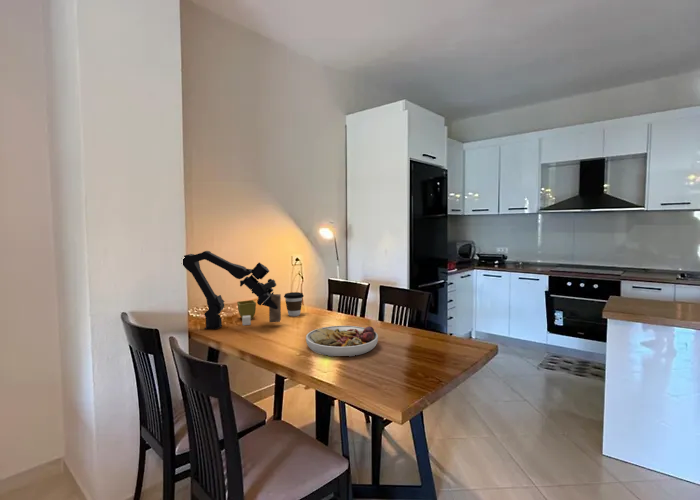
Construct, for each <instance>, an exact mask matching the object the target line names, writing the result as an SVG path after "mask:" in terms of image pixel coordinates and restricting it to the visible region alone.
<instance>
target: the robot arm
mask: <svg viewBox="0 0 700 500" xmlns="http://www.w3.org/2000/svg"><path fill="white" fill-rule="evenodd" d="M183 256H184V257H185V258H184V259H183V265H182V266H183V267H184V269H186V271H188V272H189V273H190V274H191V275H192V277H193V279H194V280H195V282H196V284H197V285H198V287H199V288H200V290H201V292H202V294H203V295H204V297H205V298H206V305H207V308H208V309H207V310H206V311H205V312H204V313H203V314H204V317H205V327H204V330H218V329H220V328H221V327H222V326H223V323H222V317H221V312H222V311H223V309H224V308H225V300H224V299H223V297H222V295H221V294H219V295H217V294H216V293H215V292H214V289H213V288H212V287H211V285H210V283H209V281H208V280H207V277H206V276H205V275H204V273H203V271H202V269H201V266H200V265H201V264H200V262H201V261H203V260H206V261H207V262H209V263H212V264H213V265H215V266H217V267H219V268H222V269H223V270H225V271H227V272H228V273H229V274H230V276H232V277H234V278H235V279H236V280H239V286H240V288H241V287H243V285H244V286H246V287H247V288H248V289H249V290H250V291H251V294H254V295H255V296H257V300H256V304H257V305H259V306H265V307H268V308H269V307H271V308H273V309H278V307H277V306H276V305H275V303H274V302H273V301H272V299H271V296H270V294H274V288H276V286H277V283H276V280H275V279H274V278H273V279H272V278H269V279H267V282H265V283H264V282H260V281H259V280H263V279H264V278H265V277H266V276H267V275H268V273H270V270H269V268H268V267H267V266H266V265H264V264H262V263H261V262H257V264H256V265H255V266H254V267H253V268H247V267H246V266H243V265H241V264H237V263H232V262H230V261H228V260H227V259H224V258H222V257H220V256H218V255H217V254H215V253H212V251H210V250H204V251H202V252H199V253H195V254H193V253H190V254H185V255H183ZM249 275H250V276H249ZM241 279H243V280H241Z"/></svg>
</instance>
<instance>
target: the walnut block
mask: <svg viewBox="0 0 700 500" xmlns="http://www.w3.org/2000/svg"><path fill="white" fill-rule="evenodd" d="M270 296H271V299H272V301H273V302H274V303H275V305H276V306H277V307H278V309H273V308H271V307H268V308H269V310H268V313H269V314H268V317H269V318H268V319H269V323H281V320H282V317H281V316H282V311H281V307H282V306H281V304H282V303H281V302H282V301H281V300H282V298H281V294H280V293H279V294H274V293H273V294H270Z"/></svg>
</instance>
